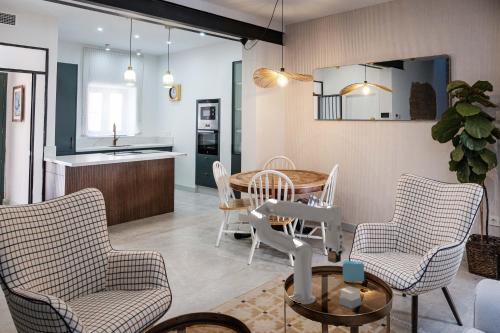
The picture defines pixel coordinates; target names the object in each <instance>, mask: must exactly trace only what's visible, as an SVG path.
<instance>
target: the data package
mask: <svg viewBox="0 0 500 333" xmlns="http://www.w3.org/2000/svg"><path fill="white" fill-rule="evenodd" d="M342 280H343V282H344V281H364V282H365V264H364V262H362V261H358V260H357V261H355V260H354V261H353V260H352V261H351V260H344V261H343V262H342Z"/></svg>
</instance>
